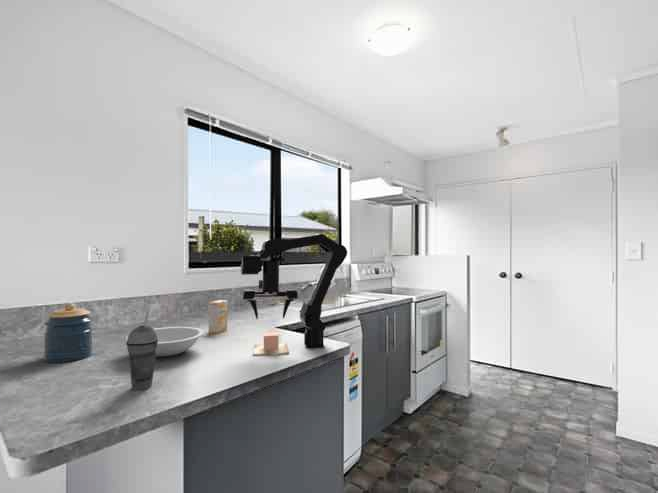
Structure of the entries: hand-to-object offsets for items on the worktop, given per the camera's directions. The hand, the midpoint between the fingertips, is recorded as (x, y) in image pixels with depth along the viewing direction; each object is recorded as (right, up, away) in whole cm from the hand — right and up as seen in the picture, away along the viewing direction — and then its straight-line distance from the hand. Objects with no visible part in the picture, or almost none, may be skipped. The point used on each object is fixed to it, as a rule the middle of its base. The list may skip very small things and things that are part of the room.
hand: (270, 318), depth 125 cm
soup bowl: (-34, -11, -6) cm, 37 cm away
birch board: (0, -11, 0) cm, 11 cm away
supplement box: (-27, -12, +28) cm, 41 cm away
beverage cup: (-27, -11, -35) cm, 45 cm away
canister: (-64, -11, -10) cm, 66 cm away
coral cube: (0, -10, 0) cm, 10 cm away
